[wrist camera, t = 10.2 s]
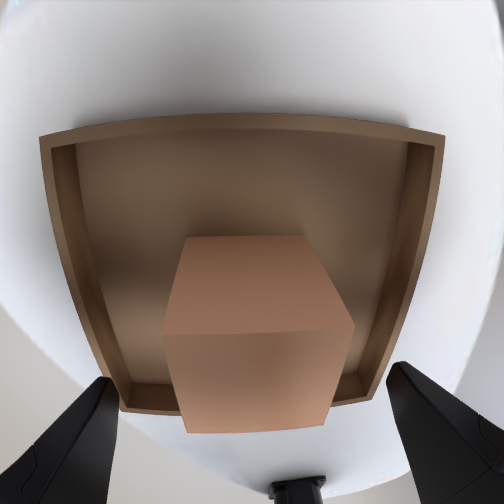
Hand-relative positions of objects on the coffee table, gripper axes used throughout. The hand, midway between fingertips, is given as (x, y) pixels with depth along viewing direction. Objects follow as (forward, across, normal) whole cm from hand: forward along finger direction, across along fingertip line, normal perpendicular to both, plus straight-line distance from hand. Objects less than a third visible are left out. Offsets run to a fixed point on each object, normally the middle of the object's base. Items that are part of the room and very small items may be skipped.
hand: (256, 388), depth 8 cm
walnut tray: (+6, 0, 0) cm, 6 cm away
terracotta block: (+6, 0, 0) cm, 6 cm away
